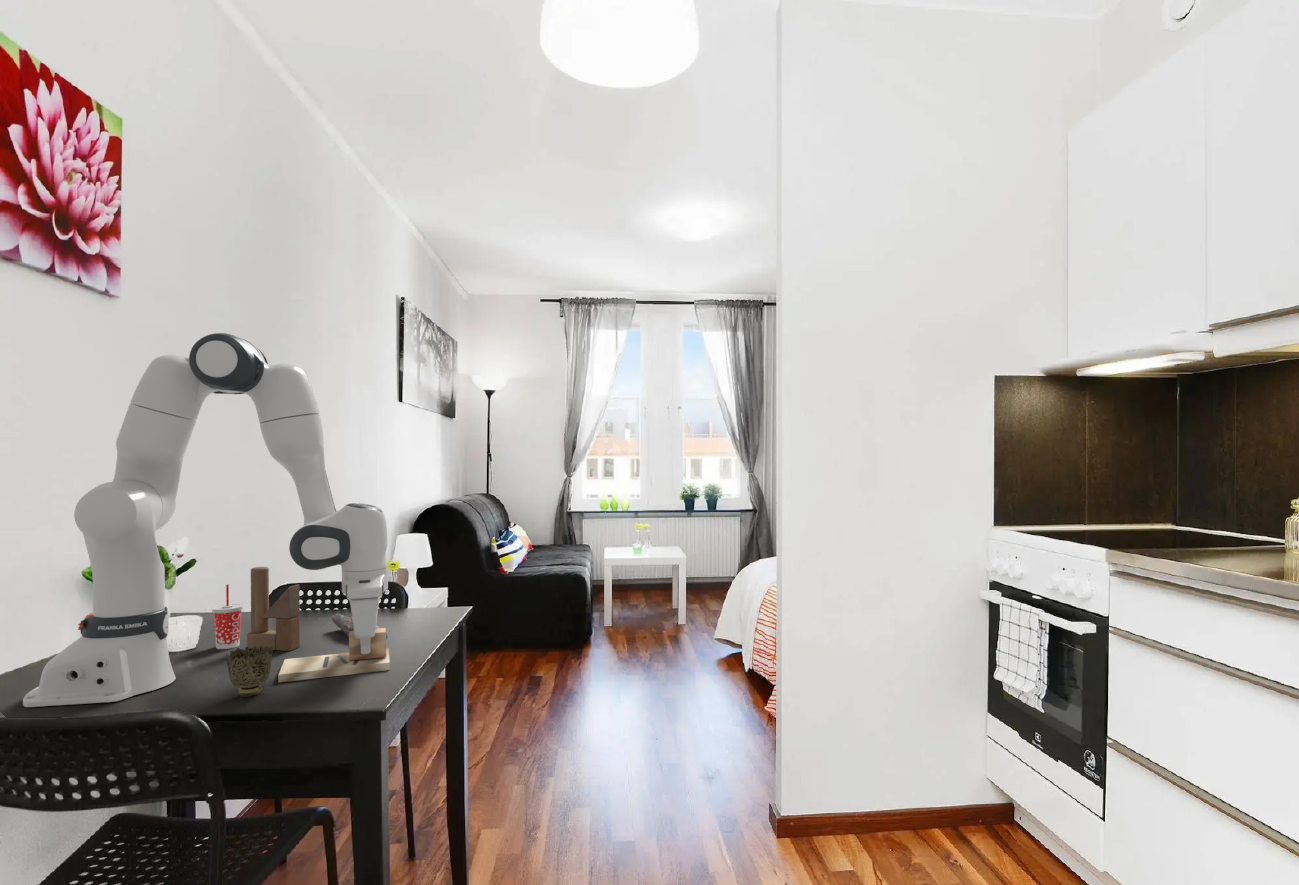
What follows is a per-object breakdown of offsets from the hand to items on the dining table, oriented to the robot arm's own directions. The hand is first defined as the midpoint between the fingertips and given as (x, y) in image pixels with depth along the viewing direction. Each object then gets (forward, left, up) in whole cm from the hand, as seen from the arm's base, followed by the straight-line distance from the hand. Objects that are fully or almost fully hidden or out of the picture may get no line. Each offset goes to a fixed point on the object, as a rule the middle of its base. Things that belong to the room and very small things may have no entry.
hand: (365, 649), depth 149 cm
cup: (-20, -11, -3) cm, 23 cm away
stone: (-2, +27, -4) cm, 28 cm away
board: (-6, 0, -3) cm, 6 cm away
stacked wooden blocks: (-20, +22, -3) cm, 30 cm away
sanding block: (0, 0, -1) cm, 1 cm away
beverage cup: (-30, +28, -3) cm, 41 cm away
